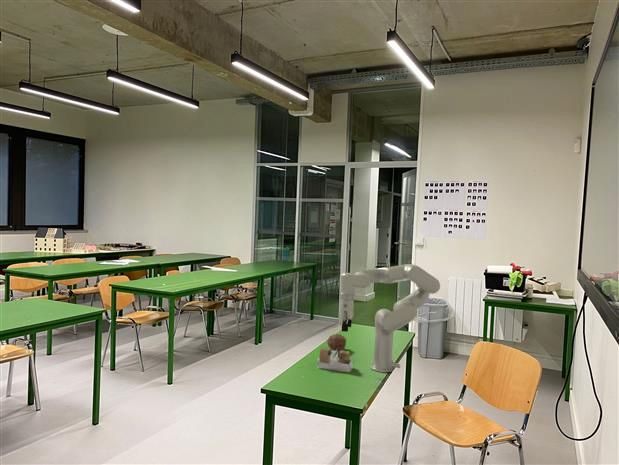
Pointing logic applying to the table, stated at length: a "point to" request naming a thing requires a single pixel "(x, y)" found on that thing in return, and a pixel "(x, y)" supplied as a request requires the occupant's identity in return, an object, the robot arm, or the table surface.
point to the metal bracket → (333, 355)
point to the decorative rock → (337, 342)
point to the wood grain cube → (344, 356)
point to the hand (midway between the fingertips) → (346, 329)
